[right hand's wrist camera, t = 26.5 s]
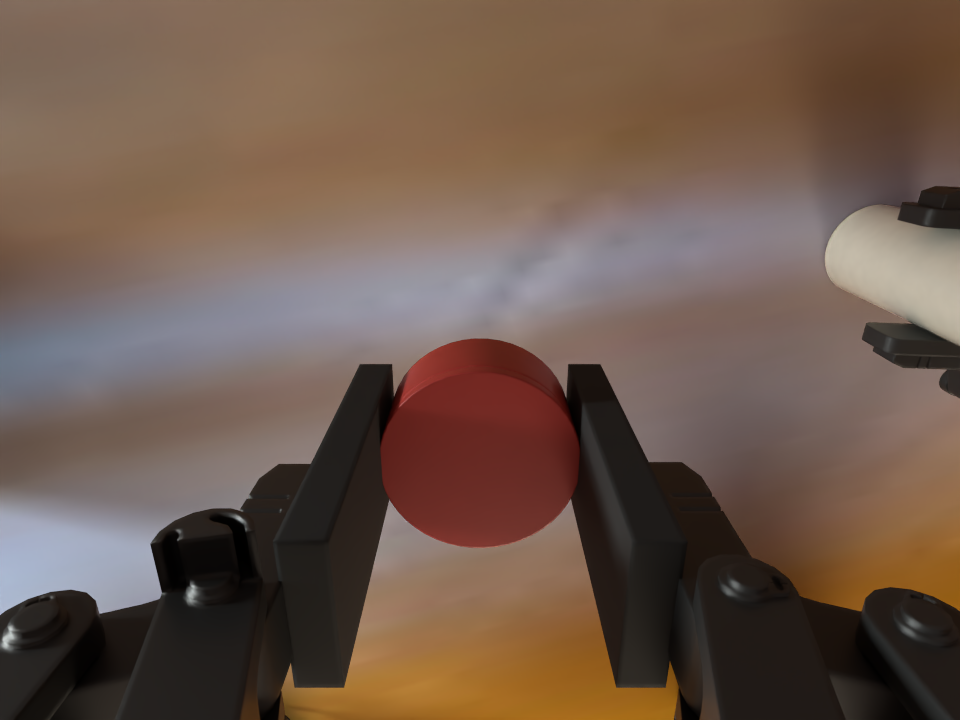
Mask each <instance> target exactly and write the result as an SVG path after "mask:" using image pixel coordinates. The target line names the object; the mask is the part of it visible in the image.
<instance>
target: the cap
mask: <svg viewBox="0 0 960 720" xmlns="http://www.w3.org/2000/svg"><path fill="white" fill-rule="evenodd" d="M380 450H381V465H382V480H383V486H384V489H385V491H386V493H387V495H388V497H389V499H390V501H391V503H392V504H393V505H394V507H395V508H396V509H397V511H398V512H399V513H400V514H401V515H402V516H403V517H404V518H405V519H406V520H407V521H408V522H409V523H410V524H412V525H413V526H414V527H415V528H417V529H418V530H420V531H421V532H423V533H425V534H426V535H429V536H431V537H433V538H435V539H437V540H440V541H443V542H445V543H449V544H453V545H457V546H463V547H471V548H488V547H498V546H503V545H507V544H511V543H514V542H517V541H520V540H523V539H525V538H527V537H529V536H532V535H533V534H535V533H537V532H538V531H540V530H542V529H543V528H544V527H546V526H547V525H548V524H550V523H551V522H552V521H553V520H554V519H555V518H556V517H557V516H558V515H559V514H560V513H561V512H562V510H563V509H564V508H565V507H566V505H567V504H568V502H569V500H570V499H571V497H572V495H573V493H574V491H575V488H576V486H577V483H578V471H579V457H580V444H579V439H578V435H577V432H576V429H575V425H574V422H573V419H572V416H571V413H570V409H569V406H568V403H567V400H566V397H565V394H564V391H563V389H562V387H561V385H560V383H559V381H558V379H557V378H556V376H555V375H554V374H553V372H552V371H551V370H550V369H549V368H548V367H547V366H546V365H545V364H544V363H543V362H542V361H541V360H540V359H539V358H537V357H536V356H535V355H533V354H532V353H530V352H528V351H526V350H525V349H523V348H521V347H518V346H516V345H513V344H511V343H507V342H503V341H500V340H492V339H467V340H461V341H457V342H452V343H449V344H447V345H444V346H441V347H439V348H437V349H435V350H433V351H432V352H430V353H428V354H427V355H425V356H424V357H423V358H421V359H420V360H419V361H418V362H417V363H416V364H414V365H413V366H412V367H411V369H410V370H409V371H408V372H407V374H406V375H405V376H404V378H403V379H402V381H401V383H400V384H399V386H398V389H397V391H396V394H395V396H394V399H393V403H392V406H391V409H390V412H389V415H388V419H387V422H386V425H385V428H384V431H383V435H382V438H381V442H380Z"/></svg>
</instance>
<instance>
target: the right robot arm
mask: <svg viewBox="0 0 960 720" xmlns="http://www.w3.org/2000/svg"><path fill="white" fill-rule="evenodd" d="M393 399H394V391H393V373H392V364H360V366H359V368H358V370H357V372H356V374H355V376H354V378H353V380H352V382H351V384H350V386H349V388H348V390H347V392H346V394H345V396H344V398H343V400H342V402H341V404H340V406H339V408H338V410H337V412H336V414H335V416H334V418H333V420H332V422H331V424H330V426H329V428H328V430H327V433H326V435H325V437H324V439H323V441H322V443H321V445H320V447H319V449H318V451H317V453H316V455H315V457H314V459H313V461H312V463H311V464H278V465H277V466H276V467H274V468H273V469H272V470H270V471H269V472H268V473H266V474H265V475H263V476H262V477H261V478H259V480H258V481H257V483H256V485H255V486H254V488H253V490H252V491H251V493H250V494H249V499H246V501H245V503H244V504H243V506H242V507H241V509H240V511H238V510H235V509H231V508H228V509H209V510H204V511H200V512H195V513H192V514H190V515H187V516H185V517H182V518H180V519H178V520H175V521H174V522H172V523H171V524H169V525H168V526H167V527H165V528H164V529H162V530H161V531H160V532H159V533H158V534H157V536H156V537H155V538H154V540H153V541H152V542H151V549H152V553H153V557H154V561H155V565H156V569H157V574H158V578H159V582H160V586H161V590H162V595H161V598H160V599H159V600H155V601H152V602H149V603H145V604H142V605H138V606H133V607H129V608H124V609H120V610H115V611H111V612H107V613H102V614H99V611H98V607H97V604H96V601H95V600H94V599H93V598H92V597H91V596H90V595H89V594H88V593H85V592H80V591H75V590H65V591H56V592H49V593H46V594H43V595H40V596H36V597H34V598H30V599H28V600H26V601H24V602H22V603H20V604H18V605H16V606H14V607H12V608H10V609H8V610H7V611H5V612H4V613H2V614H1V615H0V720H284V717H285V711H284V705H283V698H282V692H281V689H282V686H283V683H284V680H285V677H286V675H287V672H288V669H289V666H290V663H291V666H292V673H293V680H294V686H295V688H344V685H345V681H346V677H347V673H348V669H349V665H350V660H351V656H352V652H353V648H354V644H355V640H356V635H357V631H358V627H359V623H360V619H361V615H362V610H363V606H364V602H365V598H366V594H367V590H368V585H369V581H370V577H371V573H372V569H373V565H374V560H375V556H376V552H377V548H378V544H379V540H380V535H381V531H382V527H383V523H384V519H385V515H386V510H387V506H388V502H389V497H388V495H387V493H386V491H385V489H384V486H383V480H382V465H381V450H380V442H381V438H382V435H383V431H384V428H385V425H386V422H387V419H388V415H389V412H390V409H391V406H392V403H393ZM566 400H567V403H568V406H569V409H570V413H571V416H572V419H573V422H574V425H575V429H576V432H577V435H578V439H579V444H580V457H579V471H578V483H577V486H576V488H575V491H574V493H573V495H572V497H571V500H572V505H573V509H574V513H575V517H576V521H577V525H578V530H579V534H580V538H581V542H582V546H583V550H584V555H585V559H586V563H587V567H588V571H589V575H590V580H591V584H592V588H593V592H594V596H595V600H596V605H597V609H598V613H599V617H600V621H601V625H602V630H603V634H604V638H605V642H606V646H607V650H608V655H609V659H610V663H611V667H612V671H613V675H614V680H615V684H616V688H666V682H667V676H668V669H669V662H671V665H672V668H673V670H674V673H675V676H676V679H677V682H678V685H679V692H678V698H677V704H676V710H675V716H674V720H960V611H958V610H957V609H956V608H954V607H952V606H950V605H948V604H946V603H944V602H942V601H940V600H939V599H937V598H935V597H932V596H929V595H926V594H923V593H920V592H917V591H914V590H910V589H901V588H892V587H889V588H884V589H879V590H874V591H873V592H872V593H871V594H870V595H869V596H868V597H866V599H865V602H864V605H863V609H862V612H860V611H856V610H852V609H847V608H843V607H838V606H834V605H829V604H825V603H820V602H817V601H813V600H810V599H807V598H803V597H801V596H799V594H798V592H797V590H796V589H795V587H794V586H793V584H792V583H791V581H790V580H789V579H788V578H787V577H786V576H785V575H783V574H782V573H781V572H780V571H778V570H777V569H776V568H774V567H772V566H770V565H768V564H766V563H764V562H762V561H760V560H758V559H754V558H752V557H751V556H750V554H749V552H748V551H747V549H746V548H745V546H744V544H743V543H742V541H741V539H740V538H739V536H738V535H737V533H736V531H735V530H734V528H733V527H732V525H731V523H730V522H729V520H728V519H727V517H726V515H725V514H724V512H723V511H721V507H720V506H719V504H718V503H717V501H716V499H715V498H714V497H712V493H711V491H710V490H709V488H708V486H707V485H706V483H705V482H704V480H703V478H702V477H701V476H700V475H698V474H697V473H696V472H694V471H693V470H692V469H690V468H689V467H688V466H686V465H685V464H683V463H682V462H648V460H647V458H646V456H645V454H644V452H643V450H642V448H641V446H640V444H639V442H638V440H637V438H636V436H635V434H634V432H633V430H632V428H631V426H630V424H629V422H628V420H627V417H626V415H625V413H624V411H623V409H622V407H621V405H620V403H619V401H618V399H617V397H616V395H615V393H614V391H613V389H612V387H611V385H610V383H609V381H608V379H607V377H606V375H605V373H604V371H603V369H602V367H601V365H600V364H568V380H567V398H566Z"/></svg>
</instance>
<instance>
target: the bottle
mask: <svg viewBox="0 0 960 720" xmlns="http://www.w3.org/2000/svg"><path fill="white" fill-rule="evenodd" d="M900 208H901V207H896V206H892V205H872V206H868V207H865V208H862V209H860V210H858V211H856V212H854V213H853V214H851V215H850V216H848V217H847V218H846V219H845V220H843V221H842V222H841V223H840V224H839V225H838V227H837V228H836V229H835V231H834V232H833V234H832V235H831V237H830V239H829V241H828V244H827V247H826V252H825V267H826V271H827V274H828V276H829V278H830V279H831V281H832V282H833V283H834V284H835V285H836V286H837V287H838V288H840V289H841V290H843V291H846V292H848V293H850V294H852V295H854V296H856V297H858V298H860V299H862V300H864V301H866V302H868V303H870V304H872V305H875V306H877V307H879V308H881V309H883V310H885V311H887V312H889V313H891V314H893V315H895V316H897V317H899V318H901V319H904V320H906V321H908V322H910V323H912V324H914V325H916V326H918V327H920V328H922V329H924V330H926V331H928V332H931V333H933V334H935V335H937V336H939V337H941V338H943V339H945V340H947V341H949V342H951V343H953V344H955V345H957V346H960V229H943V228H931V227H924V226H919V225H915V224H911V223H907V222H903V221H899V220H897V219H898V215H899V212H900Z"/></svg>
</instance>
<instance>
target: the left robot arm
mask: <svg viewBox="0 0 960 720" xmlns="http://www.w3.org/2000/svg"><path fill="white" fill-rule="evenodd" d="M897 220H899V221H903V222H907V223H911V224H915V225H919V226H924V227H931V228H943V229H960V187H943V186H935V187H932V188H929V189H926V190H923V191H921V194H920V198H919V201H918V203H915V202H902V205H901V208H900V212H899V215H898V219H897ZM862 340H864V341H865V342H867V343H869V344H870V345H872V346H874V348H873V351H874V352H875V353H877V354H879V355H880V356H882V357H884V358H885V359H887V360H889V361H890V362H892V363H894V364H896V365H898V366H900V367H903V368H924V369H925V368H927V369H947V371H946V372H944V373H943V375H942V376H941V378H940V381H939V385H940V387H941V388H942V389H943V390H944V391H946V392H948V393H949V394H951V395H954V396H957V397H958V398H960V346H957V345H955V344H953V343H951V342H949V341H947V340H945V339H943V338H941V337H939V336H937V335H935V334H933V333H931V332H928V331H926V330H924V329H922V328H920V327H918V326H916V325H914V324H899V323H866V326H865V330H864V333H863V337H862Z"/></svg>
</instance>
